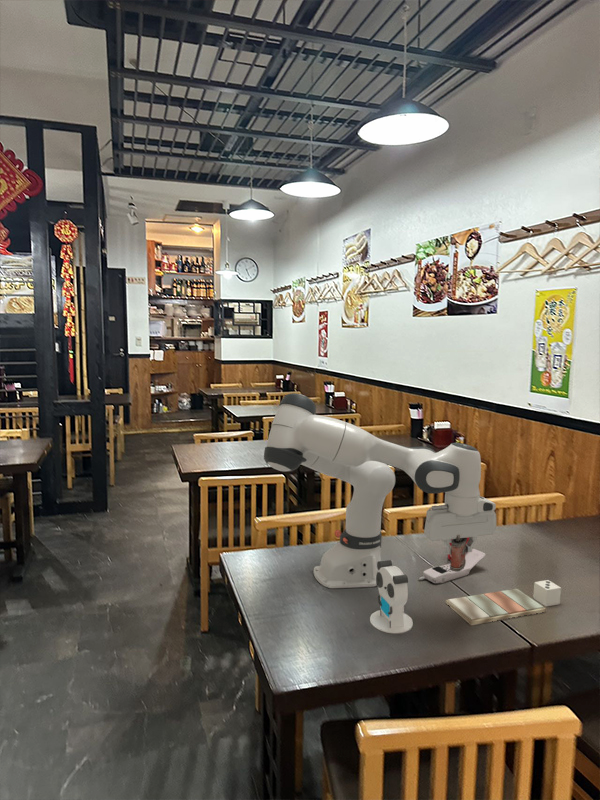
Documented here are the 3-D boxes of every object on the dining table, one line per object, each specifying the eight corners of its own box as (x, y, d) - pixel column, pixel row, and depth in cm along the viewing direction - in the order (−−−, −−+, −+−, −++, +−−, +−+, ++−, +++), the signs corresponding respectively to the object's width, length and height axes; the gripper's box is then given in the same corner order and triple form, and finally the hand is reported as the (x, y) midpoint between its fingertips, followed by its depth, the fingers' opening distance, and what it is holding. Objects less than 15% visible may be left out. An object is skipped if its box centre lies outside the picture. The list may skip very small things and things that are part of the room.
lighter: (460, 572, 141) (462, 536, 140) (447, 569, 143) (449, 533, 142) (467, 562, 148) (470, 527, 147) (455, 559, 150) (457, 524, 148)
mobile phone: (487, 553, 175) (431, 569, 163) (486, 571, 176) (430, 587, 163) (473, 547, 180) (417, 562, 168) (472, 564, 181) (416, 580, 168)
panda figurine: (362, 612, 148) (364, 560, 146) (399, 607, 151) (402, 556, 149) (380, 636, 137) (382, 580, 135) (420, 630, 140) (423, 575, 138)
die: (545, 606, 153) (547, 589, 152) (533, 598, 158) (534, 581, 157) (559, 604, 154) (561, 587, 154) (546, 595, 159) (548, 579, 158)
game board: (471, 625, 142) (471, 620, 142) (445, 603, 154) (446, 598, 154) (545, 612, 150) (546, 607, 150) (516, 591, 161) (516, 587, 161)
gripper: (433, 510, 137) (430, 561, 139) (501, 504, 143) (498, 553, 145) (421, 502, 143) (418, 551, 145) (486, 496, 149) (483, 544, 151)
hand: (458, 552), depth 145 cm, fingers closed on lighter, 4 cm apart
